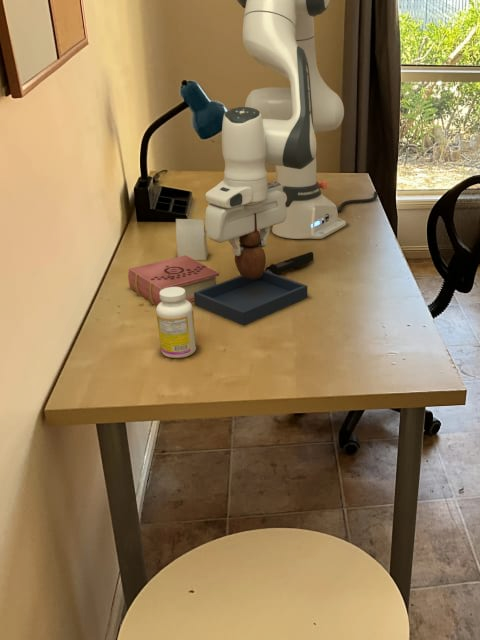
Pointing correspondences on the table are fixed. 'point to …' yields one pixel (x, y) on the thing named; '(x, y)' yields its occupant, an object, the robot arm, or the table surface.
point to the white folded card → (191, 238)
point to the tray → (250, 297)
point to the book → (171, 277)
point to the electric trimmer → (290, 264)
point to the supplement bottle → (175, 323)
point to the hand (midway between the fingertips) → (249, 250)
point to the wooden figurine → (251, 255)
